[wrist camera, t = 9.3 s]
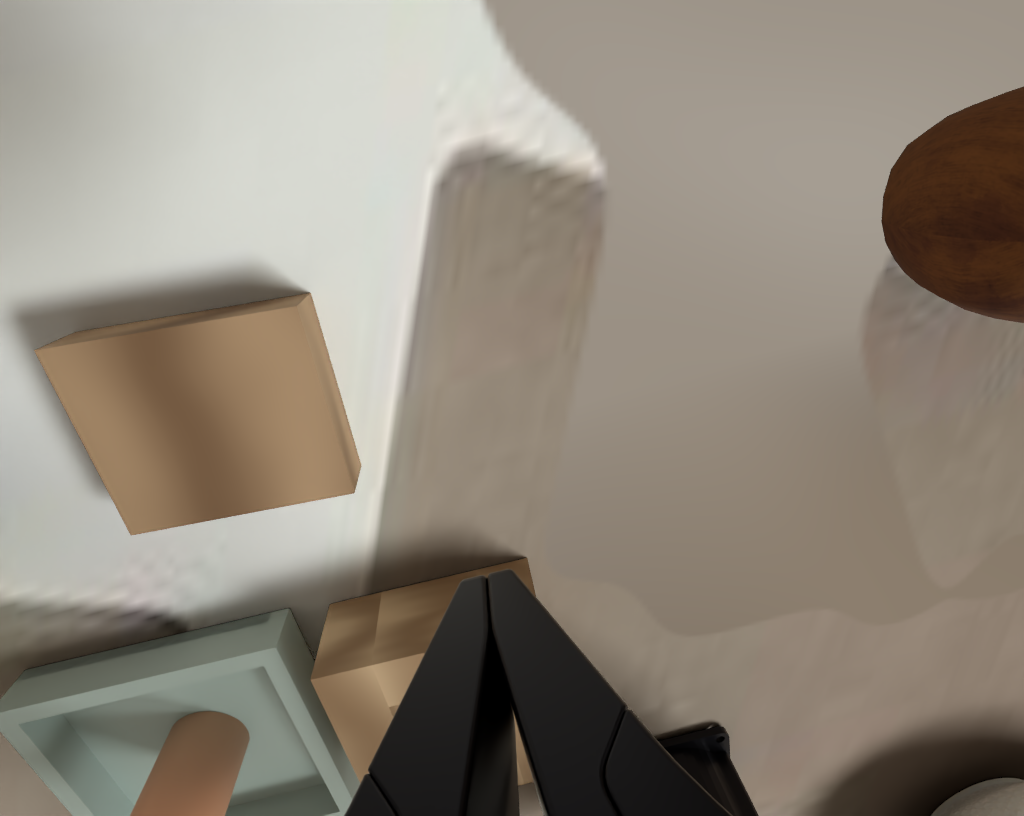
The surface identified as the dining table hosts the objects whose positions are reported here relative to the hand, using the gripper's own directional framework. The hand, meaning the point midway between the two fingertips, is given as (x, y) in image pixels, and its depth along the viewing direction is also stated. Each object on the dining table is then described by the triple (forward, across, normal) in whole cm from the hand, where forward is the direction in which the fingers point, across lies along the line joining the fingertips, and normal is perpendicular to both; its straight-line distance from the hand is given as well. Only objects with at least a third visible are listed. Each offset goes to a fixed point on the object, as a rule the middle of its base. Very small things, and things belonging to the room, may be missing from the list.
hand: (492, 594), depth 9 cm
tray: (+13, +16, +16) cm, 26 cm away
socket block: (+13, +4, +14) cm, 20 cm away
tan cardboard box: (+13, +9, 0) cm, 16 cm away
